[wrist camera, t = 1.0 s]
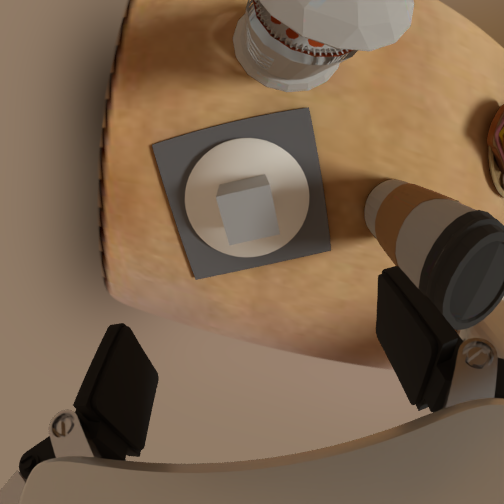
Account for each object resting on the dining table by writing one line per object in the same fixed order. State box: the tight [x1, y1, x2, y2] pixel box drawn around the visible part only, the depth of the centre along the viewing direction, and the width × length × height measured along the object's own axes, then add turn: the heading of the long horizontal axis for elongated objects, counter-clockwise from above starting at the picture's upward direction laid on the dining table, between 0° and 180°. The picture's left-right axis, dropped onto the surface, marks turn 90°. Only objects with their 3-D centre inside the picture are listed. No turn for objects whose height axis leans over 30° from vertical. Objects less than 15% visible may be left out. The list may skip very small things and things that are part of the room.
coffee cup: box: [364, 179, 504, 330], centre depth 21 cm, size 8×8×15 cm
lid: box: [185, 138, 309, 257], centre depth 24 cm, size 11×11×5 cm
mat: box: [152, 108, 331, 280], centre depth 26 cm, size 14×14×1 cm
